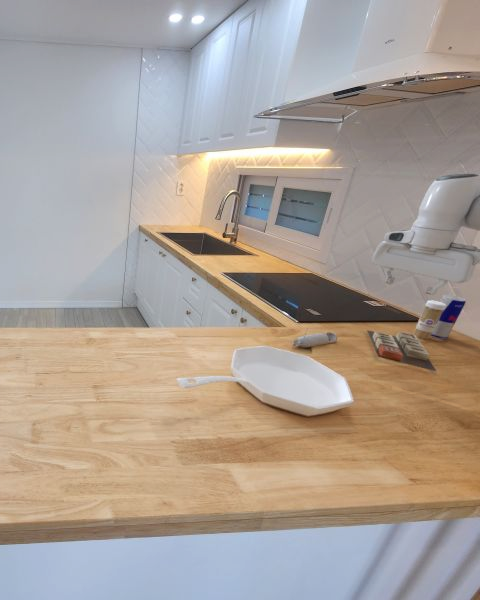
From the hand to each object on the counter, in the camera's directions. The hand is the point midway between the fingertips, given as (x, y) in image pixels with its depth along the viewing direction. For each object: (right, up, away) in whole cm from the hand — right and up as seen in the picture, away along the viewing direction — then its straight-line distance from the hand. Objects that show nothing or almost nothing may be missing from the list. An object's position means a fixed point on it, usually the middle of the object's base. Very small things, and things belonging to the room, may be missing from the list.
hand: (408, 288), depth 94 cm
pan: (-49, -26, -12) cm, 57 cm away
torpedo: (-18, -18, +13) cm, 28 cm away
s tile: (+2, -20, +8) cm, 21 cm away
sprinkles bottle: (+25, -17, +22) cm, 37 cm away
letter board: (+9, -19, +13) cm, 25 cm away
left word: (+6, -18, +14) cm, 23 cm away
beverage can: (+32, -16, +23) cm, 43 cm away
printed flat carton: (+13, -19, +13) cm, 26 cm away
